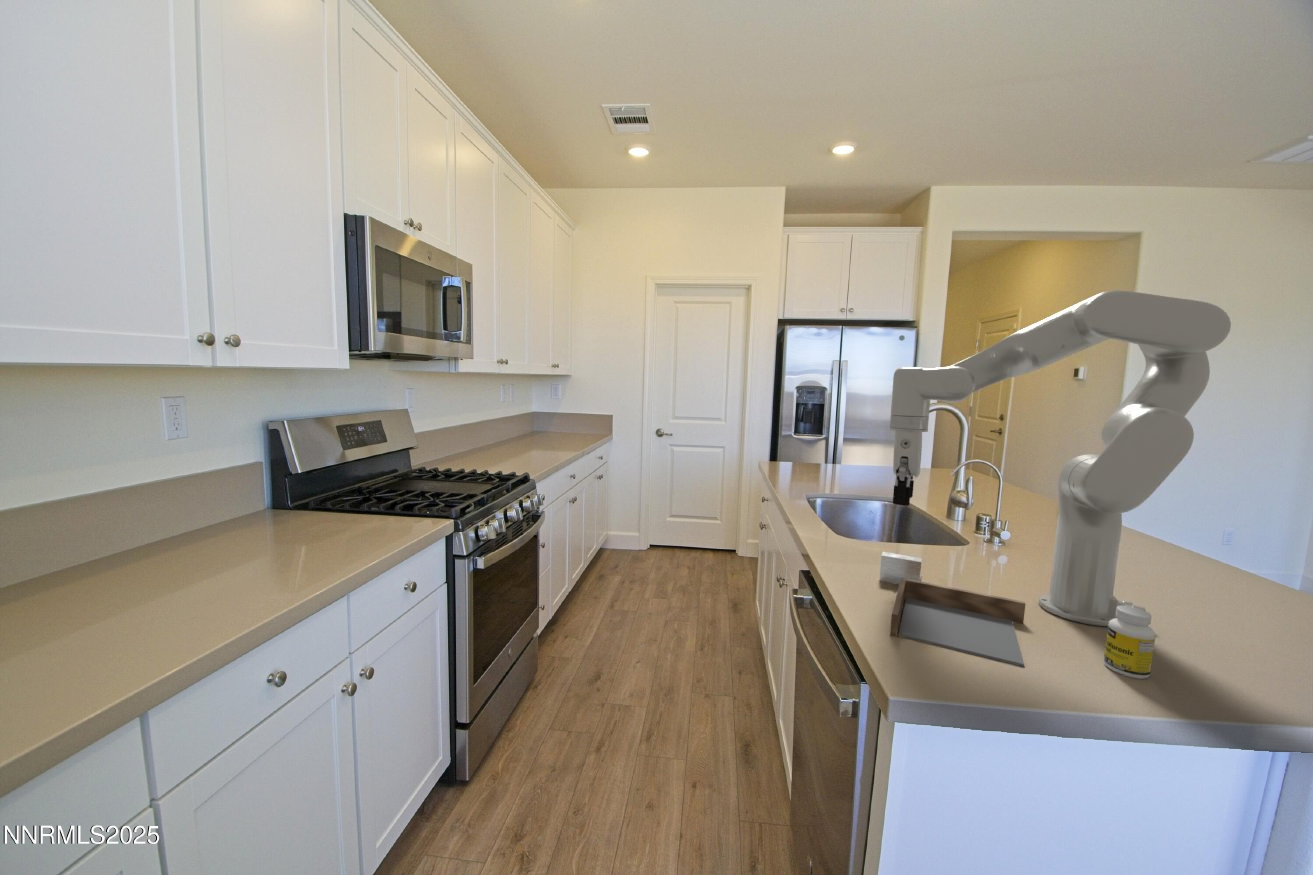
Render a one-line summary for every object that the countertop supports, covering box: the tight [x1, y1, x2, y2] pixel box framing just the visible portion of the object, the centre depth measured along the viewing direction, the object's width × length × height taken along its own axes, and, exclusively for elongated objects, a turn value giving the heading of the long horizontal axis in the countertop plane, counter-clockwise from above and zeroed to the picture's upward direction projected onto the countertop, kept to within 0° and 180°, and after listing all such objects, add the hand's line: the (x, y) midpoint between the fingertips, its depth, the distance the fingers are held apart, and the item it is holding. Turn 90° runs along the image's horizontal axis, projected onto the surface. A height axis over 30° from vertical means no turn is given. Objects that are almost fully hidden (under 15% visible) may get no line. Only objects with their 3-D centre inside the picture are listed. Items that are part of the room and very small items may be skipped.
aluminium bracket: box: [879, 551, 923, 585], centre depth 116 cm, size 8×9×6 cm
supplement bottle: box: [1103, 606, 1156, 680], centre depth 79 cm, size 5×5×10 cm
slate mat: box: [898, 598, 1025, 667], centre depth 92 cm, size 18×18×1 cm
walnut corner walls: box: [889, 577, 1026, 638], centre depth 92 cm, size 21×21×4 cm
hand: (902, 500), depth 112 cm, fingers open, 9 cm apart
